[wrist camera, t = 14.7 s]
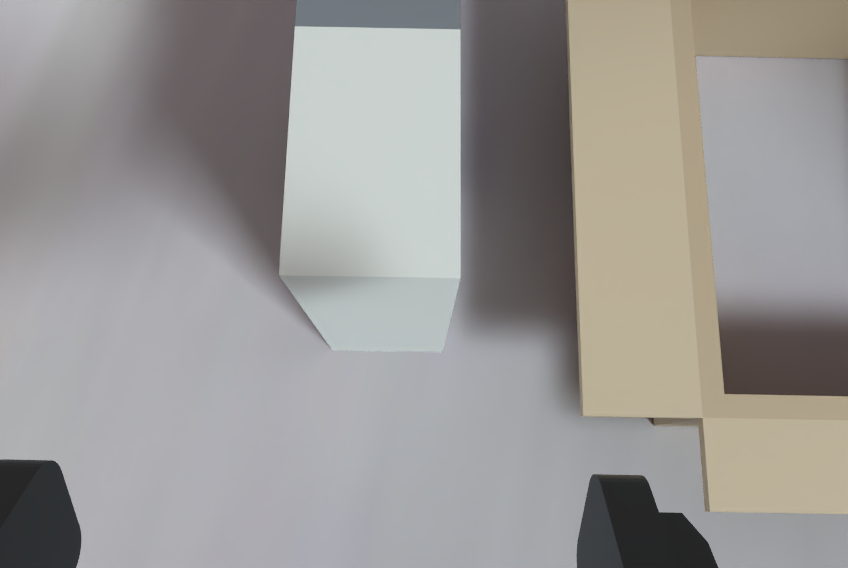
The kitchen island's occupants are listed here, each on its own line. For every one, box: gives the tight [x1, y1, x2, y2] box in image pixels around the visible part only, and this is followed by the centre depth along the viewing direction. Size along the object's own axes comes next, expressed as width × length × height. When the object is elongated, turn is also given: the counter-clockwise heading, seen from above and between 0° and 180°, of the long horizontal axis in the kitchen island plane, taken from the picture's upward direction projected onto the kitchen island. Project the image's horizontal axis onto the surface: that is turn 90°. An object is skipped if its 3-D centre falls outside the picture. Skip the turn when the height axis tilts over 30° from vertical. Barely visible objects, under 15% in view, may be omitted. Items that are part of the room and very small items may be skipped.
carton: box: [565, 0, 848, 514], centre depth 28 cm, size 22×24×5 cm
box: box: [279, 0, 461, 352], centre depth 25 cm, size 4×11×12 cm, turn 179°
